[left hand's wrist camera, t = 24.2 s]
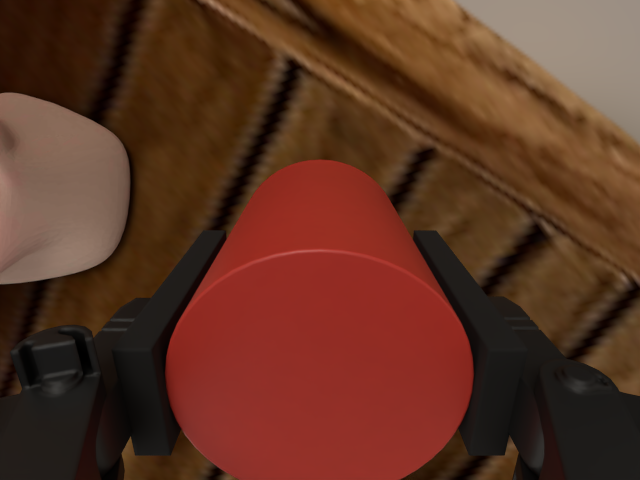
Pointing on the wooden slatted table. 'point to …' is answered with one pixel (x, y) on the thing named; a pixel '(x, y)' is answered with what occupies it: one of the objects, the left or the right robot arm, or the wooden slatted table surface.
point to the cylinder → (319, 339)
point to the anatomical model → (57, 190)
